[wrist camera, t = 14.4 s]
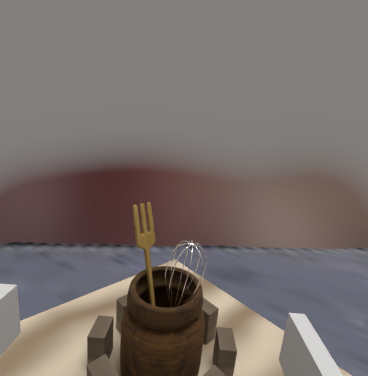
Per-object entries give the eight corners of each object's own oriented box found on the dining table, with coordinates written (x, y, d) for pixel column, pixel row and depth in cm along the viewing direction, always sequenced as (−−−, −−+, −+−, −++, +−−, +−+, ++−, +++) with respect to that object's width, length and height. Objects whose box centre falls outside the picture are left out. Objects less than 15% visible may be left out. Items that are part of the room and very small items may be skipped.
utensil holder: (154, 436, 14) (169, 247, 11) (102, 360, 18) (103, 210, 15) (215, 370, 18) (237, 221, 15) (161, 321, 22) (171, 197, 19)
